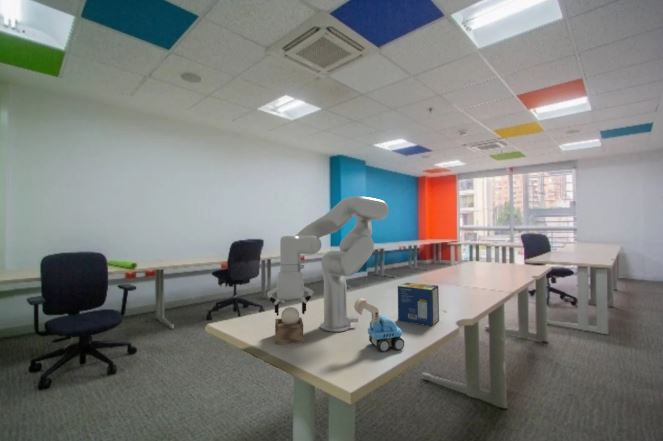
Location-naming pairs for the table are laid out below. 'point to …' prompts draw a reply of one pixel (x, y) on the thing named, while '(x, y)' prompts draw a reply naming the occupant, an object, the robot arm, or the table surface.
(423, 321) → the protein box
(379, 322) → the toy excavator
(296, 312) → the steamed bun
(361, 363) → the table surface
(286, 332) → the walnut block
